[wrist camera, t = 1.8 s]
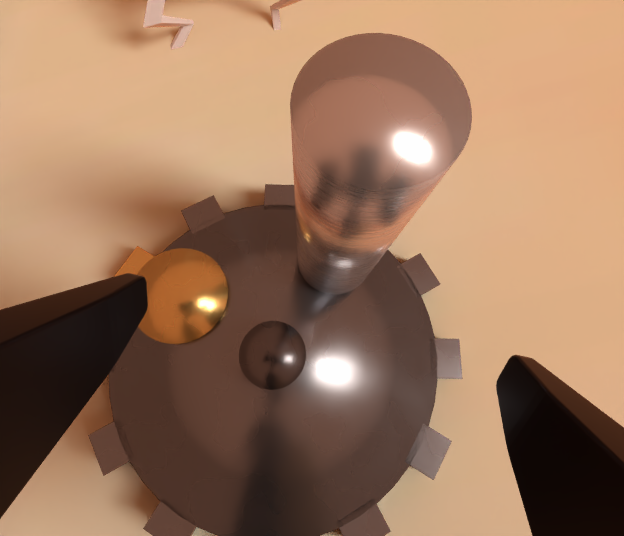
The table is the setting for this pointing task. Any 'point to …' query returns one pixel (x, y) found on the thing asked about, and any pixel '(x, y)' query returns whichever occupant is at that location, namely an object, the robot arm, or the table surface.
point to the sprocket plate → (297, 425)
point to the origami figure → (158, 20)
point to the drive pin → (368, 149)
